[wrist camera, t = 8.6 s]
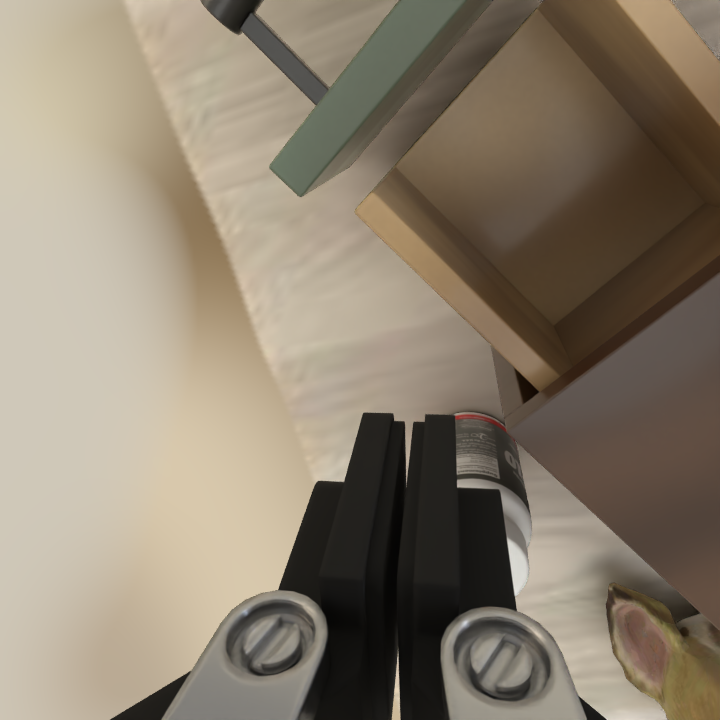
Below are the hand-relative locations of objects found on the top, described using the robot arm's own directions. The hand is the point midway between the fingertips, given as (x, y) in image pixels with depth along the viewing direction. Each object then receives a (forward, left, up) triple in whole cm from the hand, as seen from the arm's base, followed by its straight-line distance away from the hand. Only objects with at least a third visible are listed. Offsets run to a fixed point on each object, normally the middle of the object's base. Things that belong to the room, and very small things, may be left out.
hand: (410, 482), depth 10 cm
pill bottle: (+5, +8, -16) cm, 19 cm away
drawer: (-6, -3, -15) cm, 16 cm away
